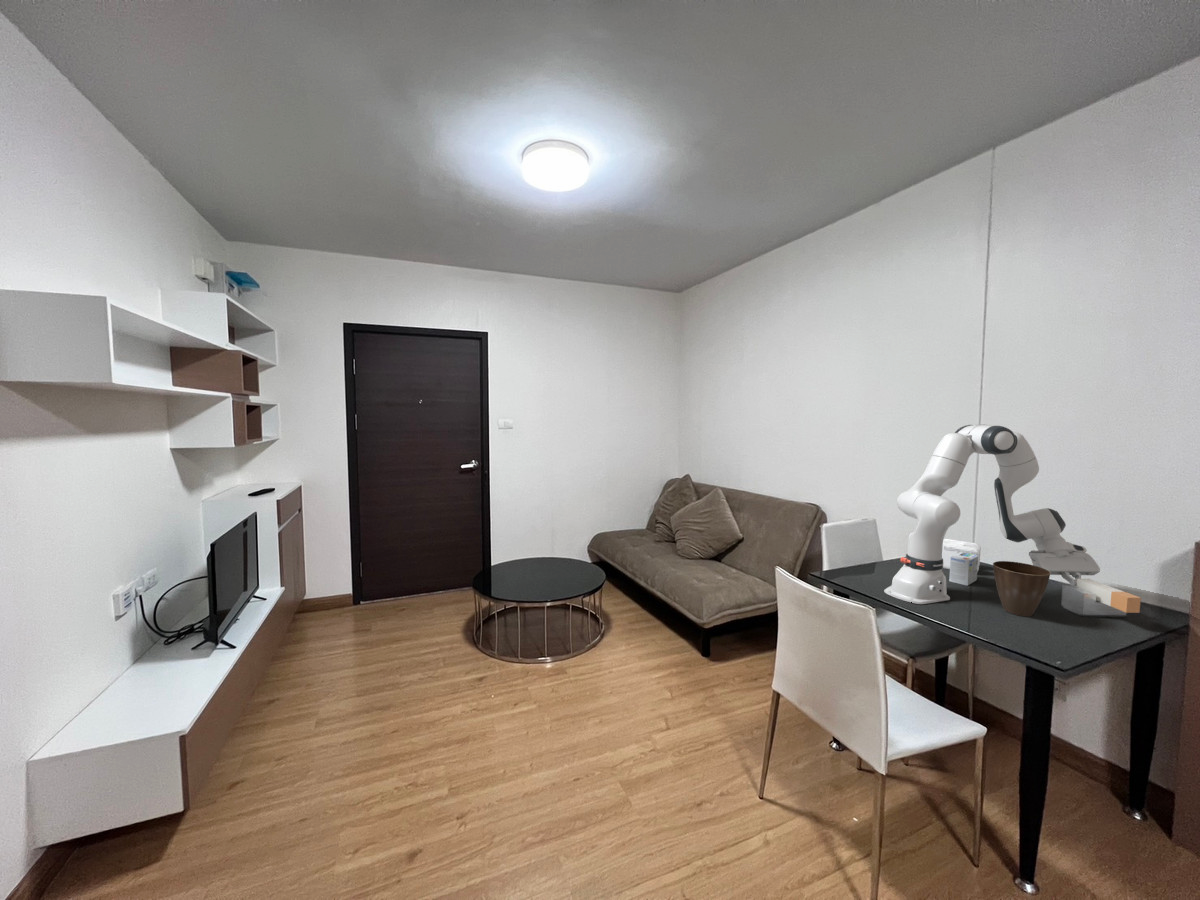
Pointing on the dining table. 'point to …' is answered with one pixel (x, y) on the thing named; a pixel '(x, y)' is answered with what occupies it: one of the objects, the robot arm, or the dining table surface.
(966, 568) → the light bulb box
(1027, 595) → the plant pot
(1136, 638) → the dining table surface
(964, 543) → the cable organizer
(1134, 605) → the plug
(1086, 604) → the housing
